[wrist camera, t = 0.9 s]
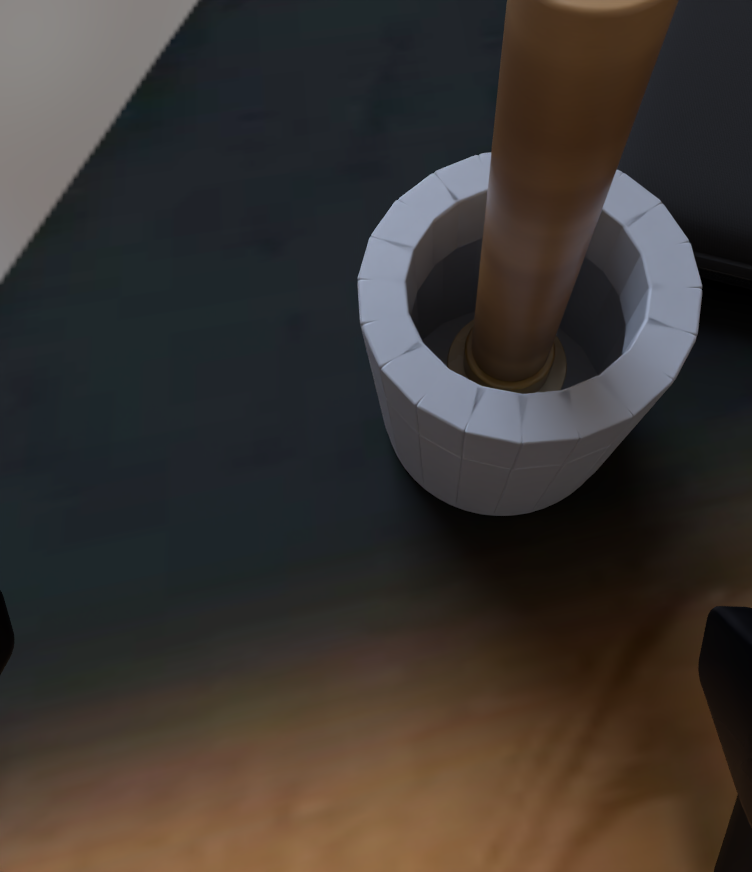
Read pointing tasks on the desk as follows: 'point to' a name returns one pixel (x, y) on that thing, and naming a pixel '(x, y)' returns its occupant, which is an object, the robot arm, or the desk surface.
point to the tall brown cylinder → (552, 174)
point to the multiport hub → (736, 843)
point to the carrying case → (702, 134)
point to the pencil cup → (578, 332)
